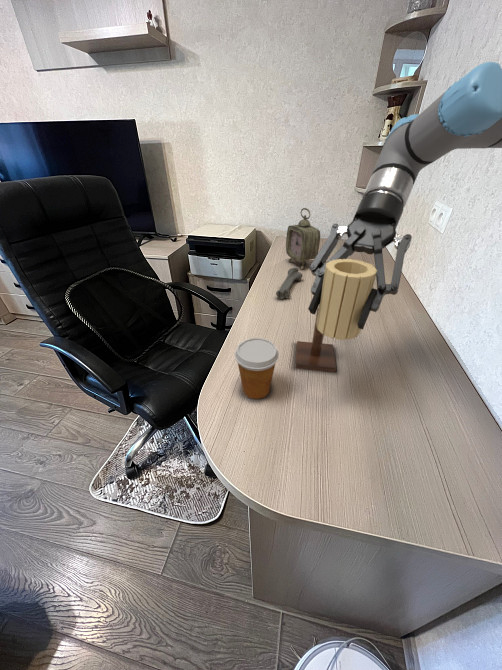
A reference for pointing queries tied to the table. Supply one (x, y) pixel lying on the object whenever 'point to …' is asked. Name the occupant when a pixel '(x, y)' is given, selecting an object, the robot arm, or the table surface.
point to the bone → (288, 283)
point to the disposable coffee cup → (256, 366)
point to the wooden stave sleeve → (344, 297)
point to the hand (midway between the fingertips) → (334, 318)
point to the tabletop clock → (302, 241)
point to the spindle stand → (315, 353)
